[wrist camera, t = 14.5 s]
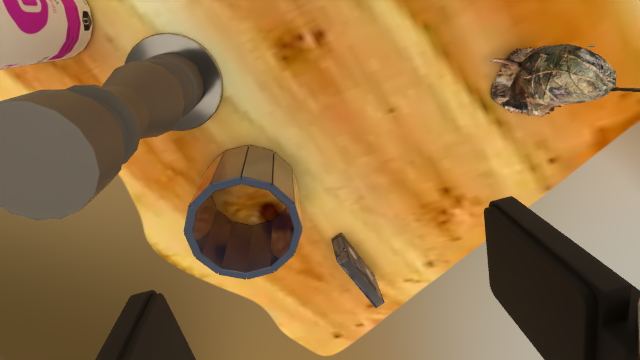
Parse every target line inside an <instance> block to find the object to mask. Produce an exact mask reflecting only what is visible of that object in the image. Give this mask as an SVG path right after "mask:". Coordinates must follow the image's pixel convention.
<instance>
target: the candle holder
mask: <svg viewBox="0 0 640 360" xmlns="http://www.w3.org/2000/svg"><path fill="white" fill-rule="evenodd" d="M203 92H204V83H203V77H202V75H201V73H200V71H199V69H198V67H197V66H196V65H195V64H194V63H193V62H191V61H190V60H189V59H188V58H187V57H184V56H181V55H179V54H176V53H163V54H159V55H155V56H152V57H150V58H148V59H146V60H144V61H142V62H129V63H127V64H125V65H123V66H121V67H118V68H116V69H115V70H114V71H113V73H112V74H111V75H110V76H109V78H108V79H107V80H106V82H105V83H104V84H103V86H102V87H100V86H97V85H74V86H72V87H69V88H67V89H62V90H39V91H36V92H32V93H28V94H25V95H21V96H18V97H14V98H10V99H7V100H3V101H0V207H2V208H3V209H5V210H7V211H8V212H10V213H12V214H16V215H20V216H24V217H27V218H31V219H35V220H43V219H61V218H64V217H66V216H68V215H70V214H73V213H75V212H77V211H79V210H81V209H83V208H84V207H85V206H86V205H87V204H88V203H89V202H90V201H91V200H92V199H93V198H94V197H95V196H96V195H97V194H99V193H100V192H101V191H102V190H103V189H104V188H105V187H106V186H107V185H108V184H109V183H110V182H111V181H112V180H113V179H114V177H115V176H116V175H117V174H118V173H119V171H120V170H121V166H122V164H124V163H126V162H127V161H128V160H129V159H130V157H131V156H132V155H133V154H134V153H135V152H136V150H137V148H138V144H139V140H140V139H142V138H149V137H157V136H159V135H162V134H164V133H166V132H168V131H170V130H171V129H172V128H173V127H174V126H175V125H176V124H177V122H178V121H179V120H180V119H181V117H183V116H185V115H187V114H188V113H189V112H190V111H191V110H192V109H193V108H194V107H195V106H196V105H197V104H198V103H199V102H200V100H201V98H202V95H203Z"/></svg>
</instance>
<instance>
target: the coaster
mask: <svg viewBox="0 0 640 360" xmlns="http://www.w3.org/2000/svg"><path fill="white" fill-rule="evenodd" d="M163 53H176V54H179V55H181V56H184V57H187V58H188V59H189V60H190V61H191V62H193V63H194V64H195V65H196V66H197V67H198V69H199V71H200V73H201V75H202V77H203V83H204V92H203V95H202V98H201V100H200V102H199V103H198V104H197V105H196V106H195V107H194V108H193V109H192V110H191V111H190V112H189V113H188V114H187V115H185V116H183V117H181V119H180V120H179V121H178V122H177V124H176V125H175V126H174V127H173V128H172V129H171V130H173V131H184V130H190V129H193V128H196V127H198V126H200V125H202V124H204V123H205V122H206V121H208V120H209V119H210V118H211V117H212V115H213V114H214V113H215V111H216V110H217V108H218V106H219V104H220V102H221V98H222V92H223V82H222V76H221V72H220V70H219V67H218V65H217V63H216V61H215V60H214V58H213V57H212V55H211V54H210V53H209V52H208V51H207V50H206V49H205V48H204V47H203V46H202V45H201V44H199V43H198V42H196V41H194V40H193V39H191V38H188V37H186V36H183V35H179V34H172V33H162V34H156V35H152V36H149V37H147V38H145V39H143V40H142V41H140V42H139V43H138V44H136V45H135V46H134V47H133V49H132V50H131V51H130V53H129V55H128V56H127V58H126V61H125V64H127V63H129V62H142V61H144V60H146V59H148V58H150V57H152V56H155V55H159V54H163ZM125 64H124V65H125Z"/></svg>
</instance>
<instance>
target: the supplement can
mask: <svg viewBox="0 0 640 360" xmlns="http://www.w3.org/2000/svg"><path fill="white" fill-rule="evenodd" d="M92 25H93V23H92V18H91V13H90V8H89V6H88V4H87V2H86V0H0V70H1V69H7V68H13V67H19V66H26V65H32V64H38V63H44V62H50V61H56V60H62V59H67V58H72V57H73V56H75V55H76V54H78V53H80V52H81V51H83V49H84V48H85V46H86V45H87V43H88V41H89V40H90V38H91V31H92Z"/></svg>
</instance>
